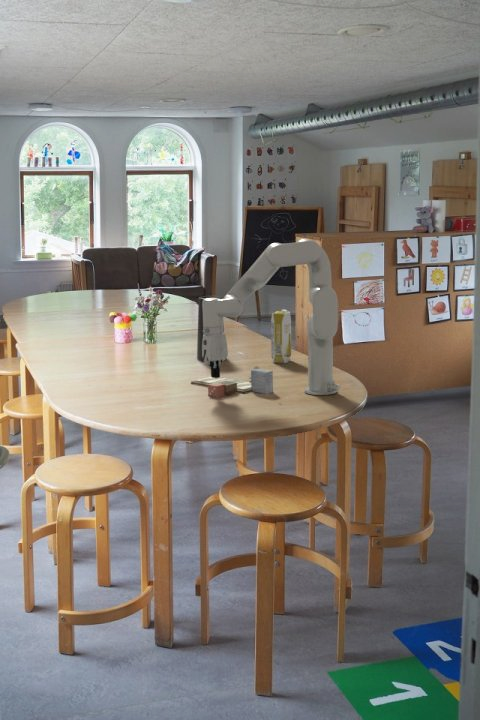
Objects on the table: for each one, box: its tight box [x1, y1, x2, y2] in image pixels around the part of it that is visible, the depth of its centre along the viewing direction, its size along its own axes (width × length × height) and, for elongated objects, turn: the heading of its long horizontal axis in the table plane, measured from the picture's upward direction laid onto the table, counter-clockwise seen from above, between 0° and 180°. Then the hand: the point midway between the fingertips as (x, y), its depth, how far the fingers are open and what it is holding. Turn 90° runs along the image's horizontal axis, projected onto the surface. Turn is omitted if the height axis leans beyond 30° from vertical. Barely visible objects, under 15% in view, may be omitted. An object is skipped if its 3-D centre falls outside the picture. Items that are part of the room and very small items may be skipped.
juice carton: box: [270, 309, 292, 364], centre depth 403 cm, size 9×8×24 cm
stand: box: [219, 381, 238, 396], centre depth 346 cm, size 6×6×4 cm
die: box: [207, 383, 226, 398], centre depth 343 cm, size 4×4×5 cm
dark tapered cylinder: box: [196, 295, 227, 362], centre depth 413 cm, size 14×14×29 cm
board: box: [190, 376, 252, 395], centre depth 359 cm, size 29×13×1 cm, turn 48°
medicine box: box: [250, 368, 274, 395], centre depth 347 cm, size 8×4×9 cm, turn 47°
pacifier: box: [247, 366, 261, 380], centre depth 365 cm, size 7×6×6 cm
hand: (215, 377), depth 340 cm, fingers closed
